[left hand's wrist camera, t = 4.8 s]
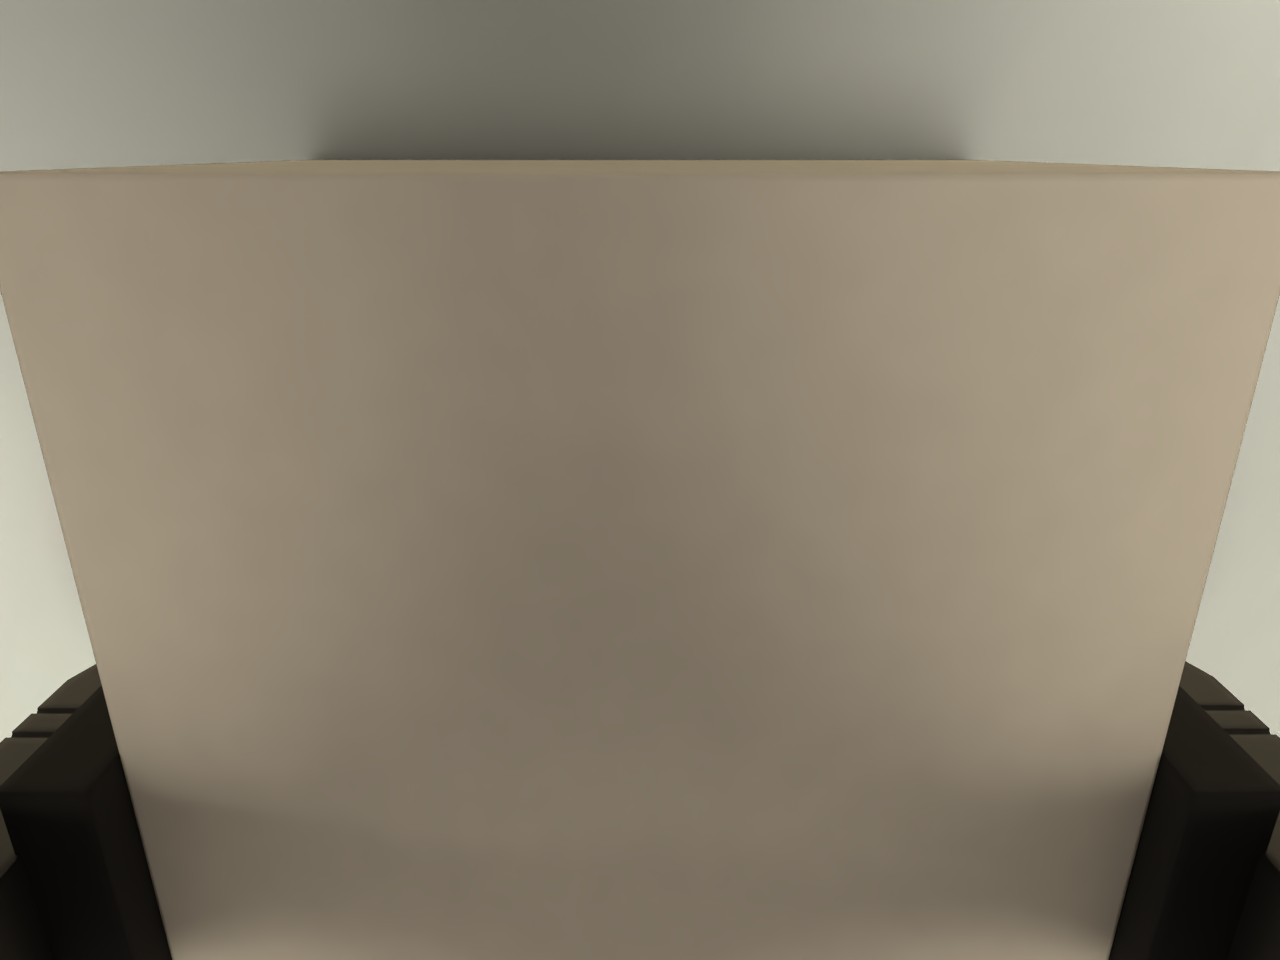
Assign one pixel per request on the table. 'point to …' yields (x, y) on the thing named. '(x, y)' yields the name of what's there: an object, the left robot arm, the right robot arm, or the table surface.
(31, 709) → the table surface
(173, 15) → the table surface
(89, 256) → the thick board
